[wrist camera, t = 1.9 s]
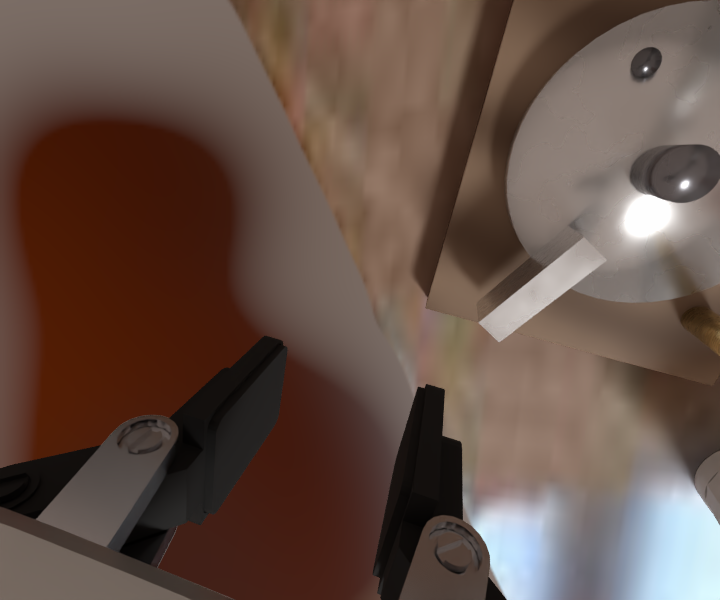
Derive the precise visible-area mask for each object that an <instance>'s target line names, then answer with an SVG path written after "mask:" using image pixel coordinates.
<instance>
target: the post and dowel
mask: <svg viewBox="0 0 720 600" xmlns="http://www.w3.org/2000/svg"><path fill="white" fill-rule="evenodd" d="M719 179H720V155H719V154H718V152H717V151H716V150H714V149H713V148H711V147H709V146H706V145H701V144H689V145H662V146H657V147H655V148H652V149H650V150H648V151H647V152H645V153H644V154H643V155H642V156H641V157H640V158H639V159H638V160H637V162H636V163H635V165H634V168H633V171H632V183H633V185H634V187H635V188H636V190H637V191H638V192H640V193H641V194H643V195H646V196H650V197H654V198H658V199H662V200H666V201H670V202H675V203H688V202H692V201H695V200H698V199H700V198H702V197H703V196H705V195H706V194H708V193H709V192H710V191H711V190H712V189H713V188H714V187H715V186H716V184H717V183H718V181H719ZM681 324H682V326H683V328H685V329H686V330H687V331H688V332H690V333H691V334H692V335H693V336H695V337H696V338H697V339H699V340H700V341H701V342H702V343H704V344H705V345H706V346H707V347H709V348H710V349H711V350H712V351H714V352H715V353H716V354H718V355H719V356H720V316H719V315H718V314H716V313H715V312H713V311H711V310H710V309H708V308H706V307H693V308H691V309H689V310H687V311H686V312H685V313H684V314H683V315H682V318H681Z"/></svg>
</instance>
